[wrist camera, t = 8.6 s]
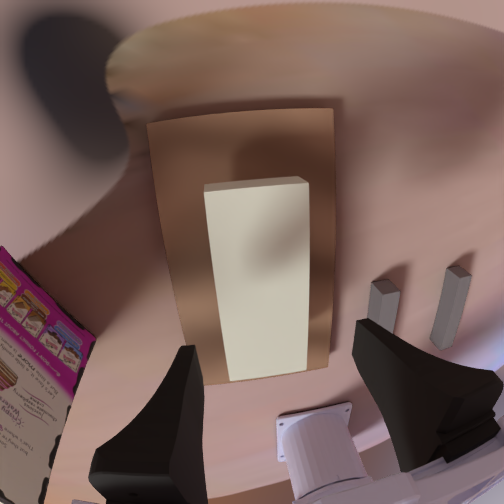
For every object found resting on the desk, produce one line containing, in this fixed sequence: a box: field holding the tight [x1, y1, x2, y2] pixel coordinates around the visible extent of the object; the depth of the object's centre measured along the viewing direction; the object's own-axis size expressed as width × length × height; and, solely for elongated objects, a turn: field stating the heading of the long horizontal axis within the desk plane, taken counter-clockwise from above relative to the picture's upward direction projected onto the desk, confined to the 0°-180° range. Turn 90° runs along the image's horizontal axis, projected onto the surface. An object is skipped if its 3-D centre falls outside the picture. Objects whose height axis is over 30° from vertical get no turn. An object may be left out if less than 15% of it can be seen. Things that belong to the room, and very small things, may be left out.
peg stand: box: [146, 108, 336, 386], centre depth 21 cm, size 20×11×3 cm, turn 4°
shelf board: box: [204, 176, 310, 381], centre depth 18 cm, size 12×5×2 cm, turn 4°
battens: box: [367, 266, 472, 350], centre depth 25 cm, size 8×10×2 cm
